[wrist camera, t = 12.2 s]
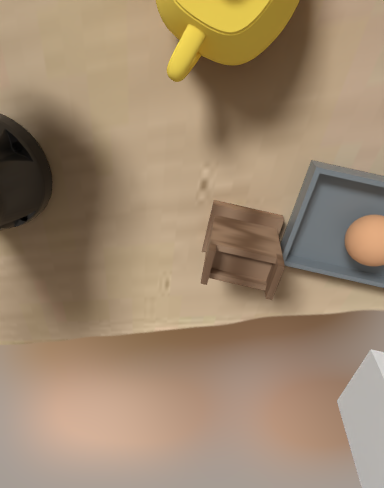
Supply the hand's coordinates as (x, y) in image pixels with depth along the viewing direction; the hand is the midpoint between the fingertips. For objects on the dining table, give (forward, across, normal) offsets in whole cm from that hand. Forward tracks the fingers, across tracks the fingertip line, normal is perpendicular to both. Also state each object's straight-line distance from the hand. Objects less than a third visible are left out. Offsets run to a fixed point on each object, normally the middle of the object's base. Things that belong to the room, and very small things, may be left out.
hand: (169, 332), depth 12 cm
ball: (+31, +20, -7) cm, 37 cm away
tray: (+32, +20, -6) cm, 38 cm away
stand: (+32, +6, -11) cm, 34 cm away
